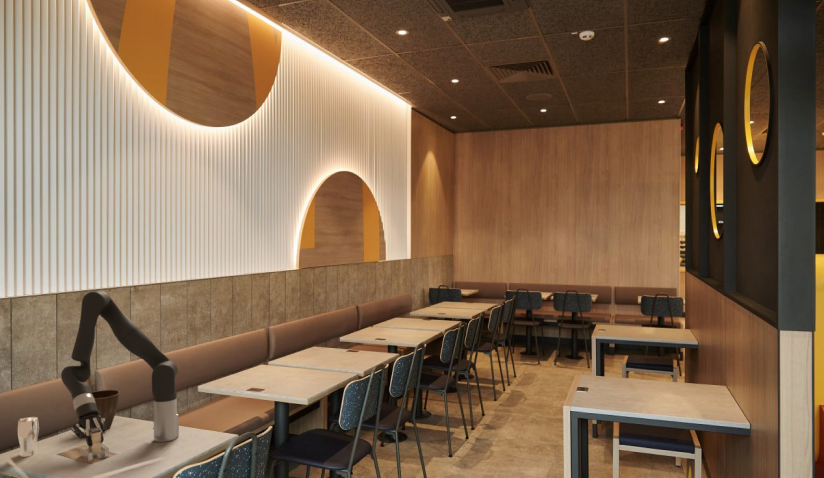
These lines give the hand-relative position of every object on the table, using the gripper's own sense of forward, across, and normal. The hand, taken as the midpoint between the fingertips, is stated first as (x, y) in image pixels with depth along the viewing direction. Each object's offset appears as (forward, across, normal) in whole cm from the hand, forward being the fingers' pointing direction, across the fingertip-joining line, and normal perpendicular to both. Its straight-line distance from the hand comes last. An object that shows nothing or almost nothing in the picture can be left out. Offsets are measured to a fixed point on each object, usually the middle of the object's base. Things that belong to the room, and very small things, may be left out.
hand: (96, 444), depth 216 cm
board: (0, -1, +9) cm, 9 cm away
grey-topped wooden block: (+1, 0, +4) cm, 4 cm away
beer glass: (-13, -17, +23) cm, 31 cm away
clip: (+2, 0, +5) cm, 6 cm away
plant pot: (-23, +15, +32) cm, 42 cm away
